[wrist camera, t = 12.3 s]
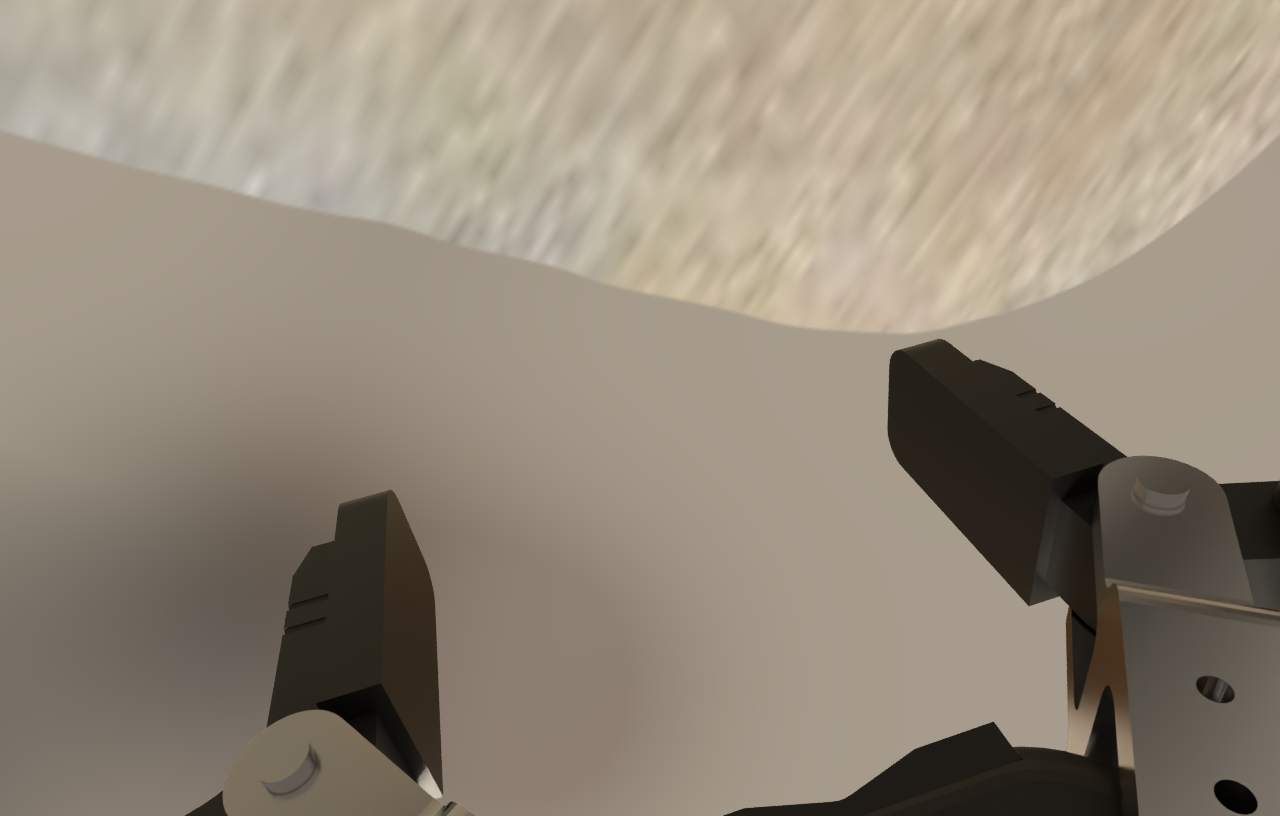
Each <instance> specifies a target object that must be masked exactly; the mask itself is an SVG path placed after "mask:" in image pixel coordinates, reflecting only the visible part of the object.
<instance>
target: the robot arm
mask: <svg viewBox="0 0 1280 816" xmlns="http://www.w3.org/2000/svg"><path fill="white" fill-rule="evenodd" d="M888 399H889V400H888V437H889V441H890V445H891V448H892V451H893V453H894V455H895V457H896V459H897V461H898V462H899V464H900V465H901V466H902V467H903V468H904V470H905V471H906V472H907V473H908V474H909V475H910V476H911V477H912V478H913V479H914V480H915V482H916V483H917V484H918V485H919V486H920V487H921V488H922V489H923V490H924V492H926V494H927V495H928V496H929V497H930V498H931V499H932V500H933V501H934V502H935V504H936V505H937V506H938V507H939V508H940V509H941V510H942V511H943V512H944V513H945V515H946V516H947V517H948V518H949V519H950V520H951V521H952V522H953V523H954V525H955V526H956V527H957V528H958V529H959V530H960V531H961V532H962V533H963V534H964V535H965V537H967V539H968V540H969V541H970V542H971V543H972V544H973V545H974V546H975V547H976V549H977V550H978V551H979V552H980V553H981V554H982V555H983V556H984V557H985V559H986V560H987V561H988V562H989V563H990V564H991V565H992V566H993V567H994V568H995V570H996V571H997V572H998V573H999V574H1000V575H1001V576H1002V577H1003V578H1004V579H1005V580H1006V582H1007V583H1008V584H1009V585H1010V586H1011V587H1012V588H1013V589H1014V590H1015V591H1016V593H1017V594H1018V595H1019V596H1020V597H1021V598H1022V599H1023V600H1024V601H1025V602H1026V604H1027V605H1028V606H1031V605H1034V604H1037V603H1040V602H1043V601H1046V600H1049V599H1052V598H1055V597H1058V596H1060V597H1061V598H1062V599H1063V600H1064V601H1065V602H1066V603H1067V604H1068V605H1069V608H1068V613H1067V618H1066V650H1067V651H1066V652H1067V653H1066V654H1067V698H1068V699H1067V700H1068V738H1067V749H1066V751H1060V750H1054V749H1047V748H1036V747H1012V746H1011V745H1010V743H1009V742H1008V741H1007V739H1006V738H1005V737H1004V735H1003V734H1002V733H1001V731H1000V730H999V728H998V727H997V726H996V724H995V723H994V722H991V723H989V724H986V725H983V726H980V727H977V728H974V729H971V730H969V731H966V732H963V733H960V734H957V735H954V736H951V737H948V738H945V739H942V740H940V741H937V742H934V743H931V744H928V745H925V746H922V747H920V748H917V749H914V750H913V751H912V752H910V753H909V754H907V755H906V756H905V757H903V758H902V759H900V760H899V761H898V762H896V763H895V764H893V765H892V766H891V767H889V768H888V769H886V770H885V771H884V772H882V773H881V774H880V775H878V776H877V777H875V778H874V779H873V780H871V781H870V782H868V783H867V784H866V785H864V786H863V787H861V788H860V789H859V790H857V791H856V792H854V793H853V794H852V795H850V796H848V797H847V798H845V799H842V800H840V801H834V802H824V803H810V804H796V805H783V806H769V807H755V808H744V809H741V810H738V811H735V812H733V813H730V814H727V815H724V816H1280V481H1269V482H1250V483H1229V484H1218V483H1217V482H1216V481H1215V480H1214V479H1213V478H1211V477H1210V476H1208V475H1207V474H1206V473H1204V472H1202V471H1200V470H1199V469H1197V468H1195V467H1192V466H1190V465H1188V464H1185V463H1182V462H1179V461H1176V460H1172V459H1168V458H1162V457H1156V456H1132V457H1127V456H1125V455H1124V454H1123V453H1121V452H1120V451H1118V450H1117V449H1116V448H1115V447H1113V446H1112V445H1111V444H1109V443H1108V442H1106V441H1105V440H1104V439H1102V438H1101V437H1100V436H1098V435H1097V434H1096V433H1094V432H1093V431H1092V430H1090V429H1089V428H1088V427H1086V426H1085V425H1084V424H1082V423H1081V422H1079V421H1078V420H1077V419H1075V418H1074V417H1073V416H1071V415H1070V414H1069V413H1067V412H1066V411H1065V410H1063V409H1062V408H1060V407H1059V408H1056V406H1055V403H1054V402H1052V401H1051V400H1050V399H1048V398H1047V397H1046V396H1044V395H1043V394H1041V393H1037V392H1036V389H1035V388H1033V387H1032V386H1031V385H1029V384H1028V383H1027V382H1026V381H1024V380H1023V379H1021V378H1020V377H1019V376H1017V375H1016V374H1015V373H1013V372H1012V371H1009V370H1006V369H1004V368H1001V367H999V366H996V365H993V364H990V363H988V362H985V361H982V360H976V361H971V360H970V359H969V358H968V357H966V356H965V355H964V354H963V353H961V352H960V351H959V350H957V349H956V348H955V347H953V346H952V345H951V344H950V343H948V342H947V341H945V340H943V339H937V340H933V341H929V342H926V343H922V344H919V345H916V346H912V347H908V348H904V349H901V350H897V351H895V352H894V353H893V354H892V356H891V359H890V365H889V396H888ZM288 607H289V611H287V613H286V619H285V625H284V631H285V635H283V636H282V643H281V648H280V654H279V659H278V665H277V671H276V677H275V683H274V688H273V695H272V700H271V706H270V711H269V717H268V723H267V728H266V729H264V730H263V731H262V732H260V733H259V734H258V735H257V736H256V737H255V738H254V739H252V740H251V741H250V742H249V743H248V744H247V745H246V747H245V748H244V749H243V750H242V751H241V752H240V754H239V755H238V757H237V758H236V760H235V761H234V763H233V764H232V766H231V768H230V771H229V772H228V775H227V778H226V780H225V783H224V789H223V791H222V792H220V793H219V794H218V795H217V796H215V797H214V798H212V799H211V800H209V801H208V802H206V803H205V804H203V805H202V806H200V807H199V808H197V809H195V810H193V811H192V812H190V813H189V814H187V815H185V816H474V815H473V814H471V813H470V812H469V811H468V810H466V809H465V808H464V807H462V806H460V805H459V804H457V803H454V802H450V803H449V804H448V805H447V806H444V805H442V804H441V803H439V802H438V801H437V800H436V799H437V798H440V797H443V783H442V760H441V734H440V710H439V688H438V663H437V641H436V640H437V639H436V615H435V599H434V592H433V586H432V582H431V578H430V574H429V571H428V568H427V565H426V563H425V560H424V558H423V556H422V553H421V551H420V549H419V546H418V544H417V542H416V540H415V537H414V535H413V533H412V530H411V528H410V526H409V523H408V521H407V519H406V516H405V514H404V512H403V509H402V507H401V505H400V503H399V500H398V498H397V496H396V495H395V493H394V492H393V491H392V490H388V491H385V492H381V493H377V494H374V495H370V496H367V497H363V498H359V499H356V500H352V501H349V502H345V503H341V504H340V506H339V509H338V516H337V524H336V533H335V541H332V542H329V543H325V544H322V545H318V546H314V547H312V548H311V549H310V551H309V552H308V554H307V555H306V557H305V559H304V560H303V562H302V563H301V565H300V566H299V568H298V569H297V571H296V573H295V574H294V576H293V579H292V585H291V591H290V596H289V602H288Z"/></svg>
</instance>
